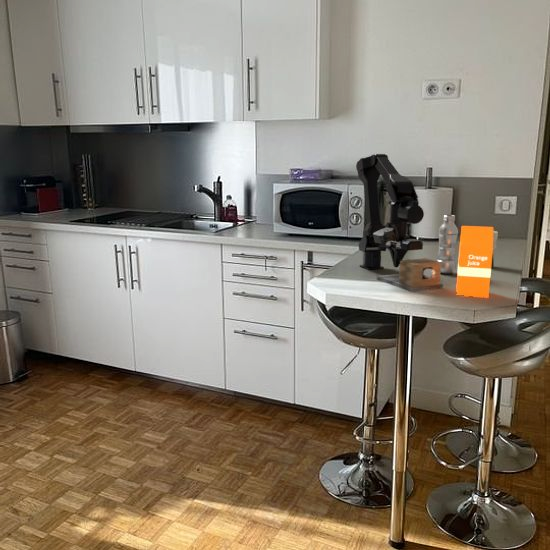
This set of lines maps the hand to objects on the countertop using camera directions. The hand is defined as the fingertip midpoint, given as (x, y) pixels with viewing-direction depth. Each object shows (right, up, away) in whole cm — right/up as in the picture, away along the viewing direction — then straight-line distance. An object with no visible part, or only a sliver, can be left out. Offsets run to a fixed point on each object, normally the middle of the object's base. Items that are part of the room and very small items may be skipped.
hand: (396, 267), depth 180 cm
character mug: (+37, 0, +21) cm, 42 cm away
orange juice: (+19, -8, -18) cm, 27 cm away
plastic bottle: (+19, -2, +10) cm, 21 cm away
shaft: (+5, -4, -10) cm, 12 cm away
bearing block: (+3, -5, -5) cm, 8 cm away
